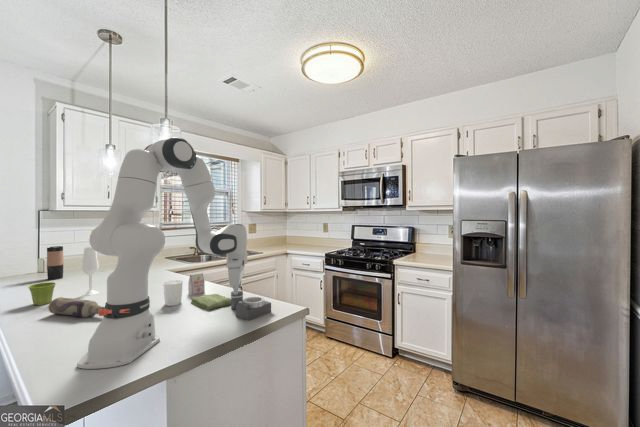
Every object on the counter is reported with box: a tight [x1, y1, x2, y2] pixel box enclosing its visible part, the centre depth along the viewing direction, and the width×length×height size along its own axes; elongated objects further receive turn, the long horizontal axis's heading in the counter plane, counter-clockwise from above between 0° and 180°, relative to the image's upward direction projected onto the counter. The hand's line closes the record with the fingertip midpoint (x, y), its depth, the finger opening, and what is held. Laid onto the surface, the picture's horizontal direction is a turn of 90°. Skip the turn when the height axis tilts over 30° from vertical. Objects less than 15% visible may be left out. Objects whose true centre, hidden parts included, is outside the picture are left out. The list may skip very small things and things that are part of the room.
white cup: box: [162, 279, 183, 307], centre depth 133 cm, size 8×8×10 cm
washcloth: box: [190, 293, 231, 311], centre depth 134 cm, size 13×18×3 cm
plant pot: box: [27, 281, 57, 306], centre depth 134 cm, size 9×9×9 cm
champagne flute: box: [81, 246, 100, 297], centre depth 149 cm, size 7×7×24 cm
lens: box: [230, 290, 244, 311], centre depth 128 cm, size 5×5×7 cm
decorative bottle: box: [48, 296, 105, 318], centre depth 118 cm, size 26×8×7 cm, turn 76°
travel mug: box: [46, 245, 64, 281], centre depth 182 cm, size 8×8×20 cm
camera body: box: [235, 296, 272, 322], centre depth 120 cm, size 12×8×6 cm
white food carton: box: [187, 272, 206, 296], centre depth 150 cm, size 4×7×10 cm, turn 138°
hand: (237, 290), depth 128 cm, fingers open, 8 cm apart
